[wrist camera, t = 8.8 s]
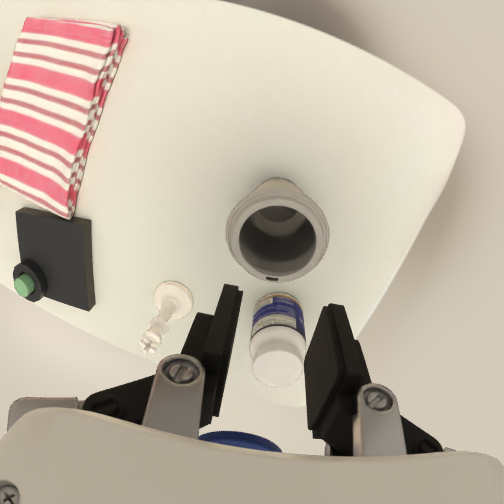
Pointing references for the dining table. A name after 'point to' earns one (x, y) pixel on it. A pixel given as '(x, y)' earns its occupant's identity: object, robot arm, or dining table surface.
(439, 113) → the dining table surface
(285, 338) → the pill bottle
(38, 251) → the scale
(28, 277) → the button
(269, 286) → the dining table surface
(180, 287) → the chess piece
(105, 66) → the dish towel
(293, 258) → the cup
